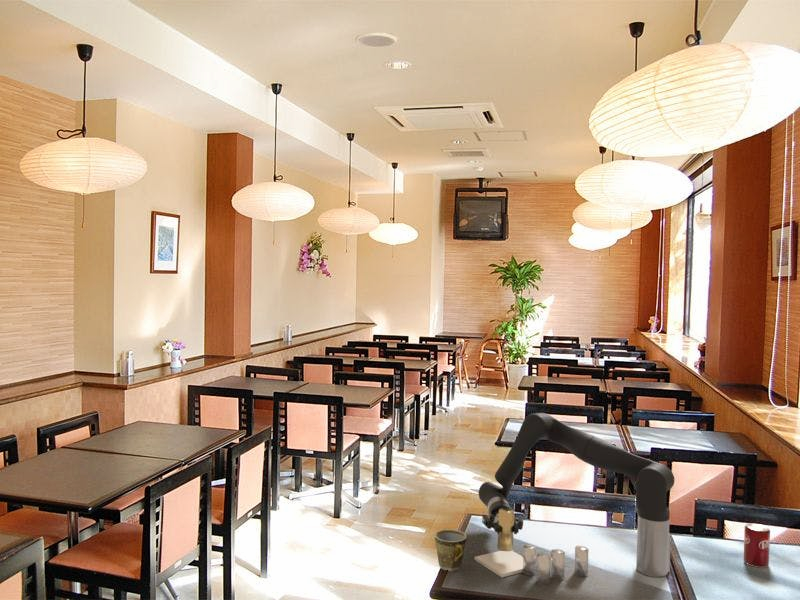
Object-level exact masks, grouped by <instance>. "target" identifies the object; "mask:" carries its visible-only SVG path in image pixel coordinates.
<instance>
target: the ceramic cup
mask: <svg viewBox="0 0 800 600" xmlns="http://www.w3.org/2000/svg"><path fill="white" fill-rule="evenodd" d="M467 537H468V536H467V534H466V533H465V532H463V531H462V530H457V529H451V528H450V529H449V528H448V529H441V530H438V531H436V532H435V534H434V541H435V542H434V543H435V547H436V554H437V560H438V561H437V563H438V566H439V567H440V568H441V570H443V569H444V570H443V571H446V570H448V571H447V572H455V570H457V571H459V570H460V569H459V568H461V567H462V563H463V560H464V559H463V558H464V554H465V553H464V552H465V549H466V545H467ZM442 565H443V566H442Z"/></svg>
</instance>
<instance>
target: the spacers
mask: <svg viewBox="0 0 800 600" xmlns="http://www.w3.org/2000/svg"><path fill="white" fill-rule="evenodd" d="M550 554H551V555H550ZM550 554H549V553H547V552H546V553H545V552H539V553H537V546H536V545H533V544H524V545H523V546H522V557H523V572H522V573H523V575H525V576H529V577H532V576H535V578H536V580H535V582H536V583H537V584H538V585H540V586H548V585H550V583H551V579H552V580H554V581H558V582H561V581H564V580H565V561H566V557H565V556H566V555H565V554H566V552H565V551H564V550H563V549H559V548H558V549H557V548H555V549H551V551H550ZM536 565H537V568H536ZM573 574H574V575H575V576H576V577H580V578H585V577H588V576H589V547H587V546H584V545H576V546H575V547H574V572H573Z"/></svg>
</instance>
